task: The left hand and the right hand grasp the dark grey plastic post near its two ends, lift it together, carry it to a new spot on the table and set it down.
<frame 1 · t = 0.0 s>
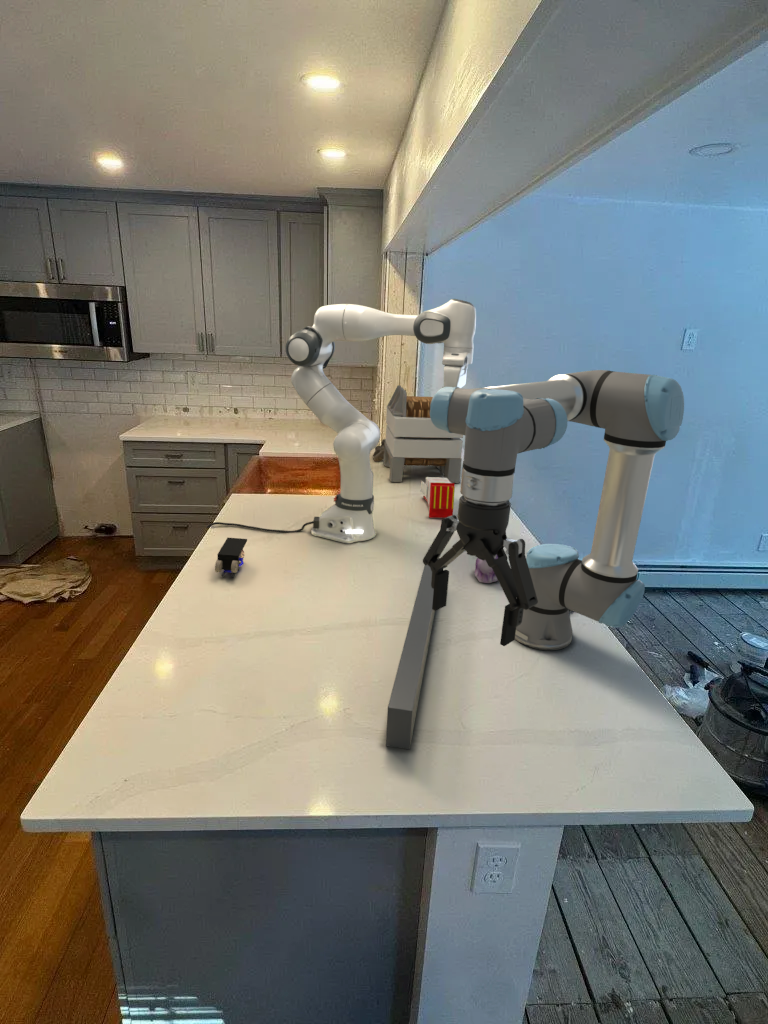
left hand: (454, 403, 174), 48 cm above the counter, tool pointing down, fingers open, 8 cm apart
right hand: (471, 624, 90), 28 cm above the counter, tool pointing down, fingers open, 13 cm apart
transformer: (419, 473, 275), on the counter
black wheeled block: (232, 569, 168), on the counter
fossil: (384, 457, 300), on the counter
post: (418, 647, 134), on the counter
red striped box: (436, 506, 229), on the counter
figurine: (487, 577, 170), on the counter
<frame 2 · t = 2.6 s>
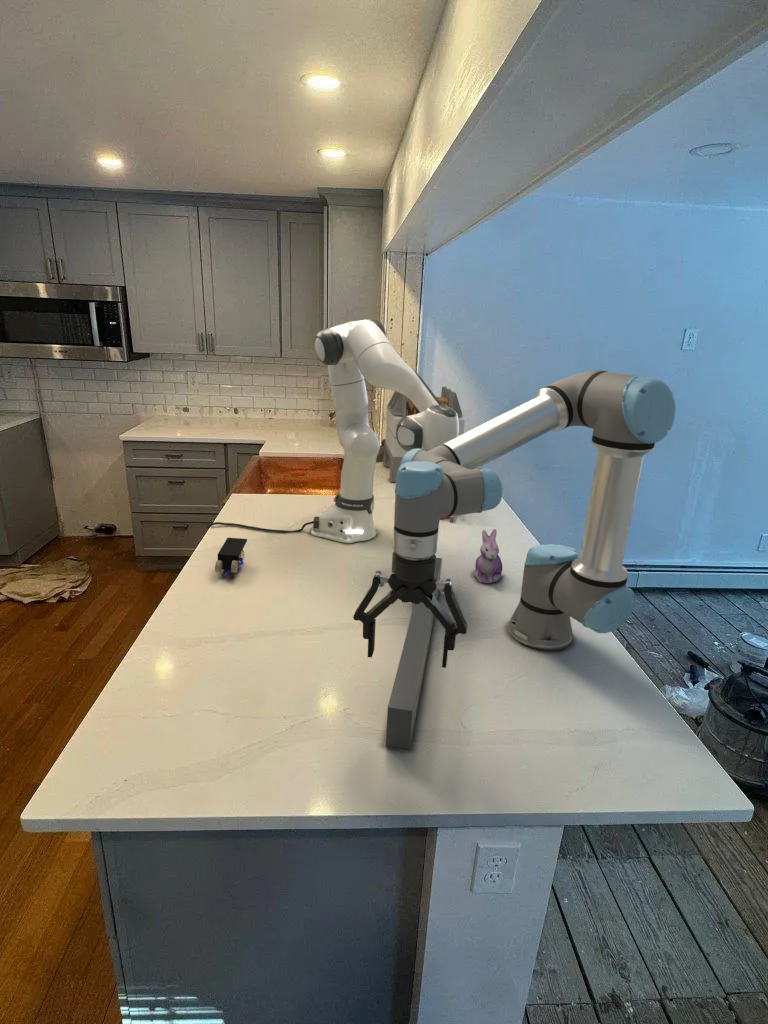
left hand: (434, 520, 151), 22 cm above the counter, tool pointing down, fingers open, 8 cm apart
right hand: (407, 658, 104), 14 cm above the counter, tool pointing down, fingers open, 13 cm apart
nothing on the counter moved.
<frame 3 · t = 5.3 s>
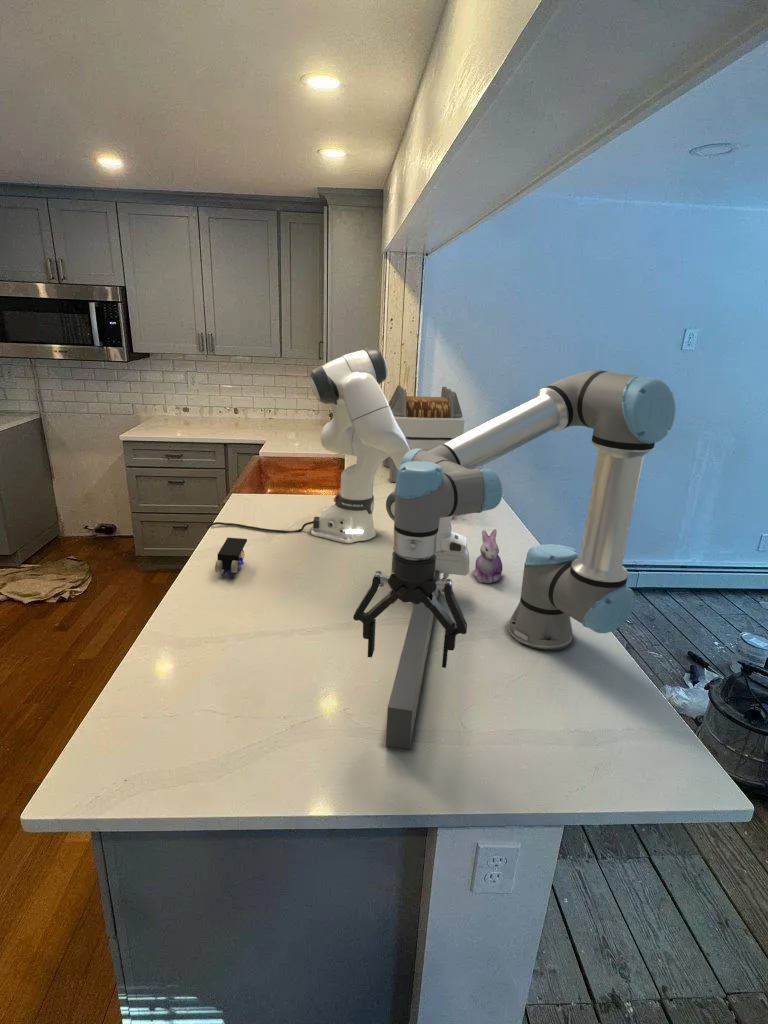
left hand: (430, 584, 157), 3 cm above the counter, tool pointing down, fingers closed on post, 4 cm apart
right hand: (407, 658, 104), 14 cm above the counter, tool pointing down, fingers open, 13 cm apart
post: (418, 646, 134), on the counter, touching left hand
everything else where it was.
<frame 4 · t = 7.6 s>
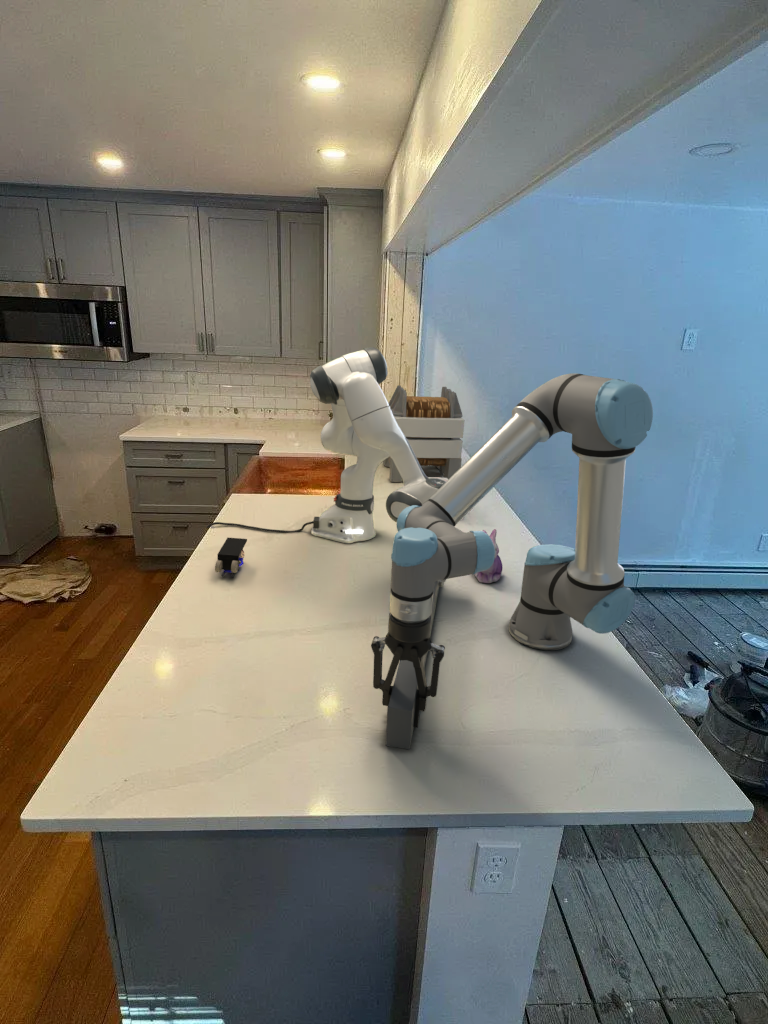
left hand: (430, 584, 157), 3 cm above the counter, tool pointing down, fingers closed on post, 4 cm apart
right hand: (403, 720, 109), 1 cm above the counter, tool pointing down, fingers closed on post, 4 cm apart
post: (418, 646, 134), on the counter, touching left hand, right hand
everything else where it was.
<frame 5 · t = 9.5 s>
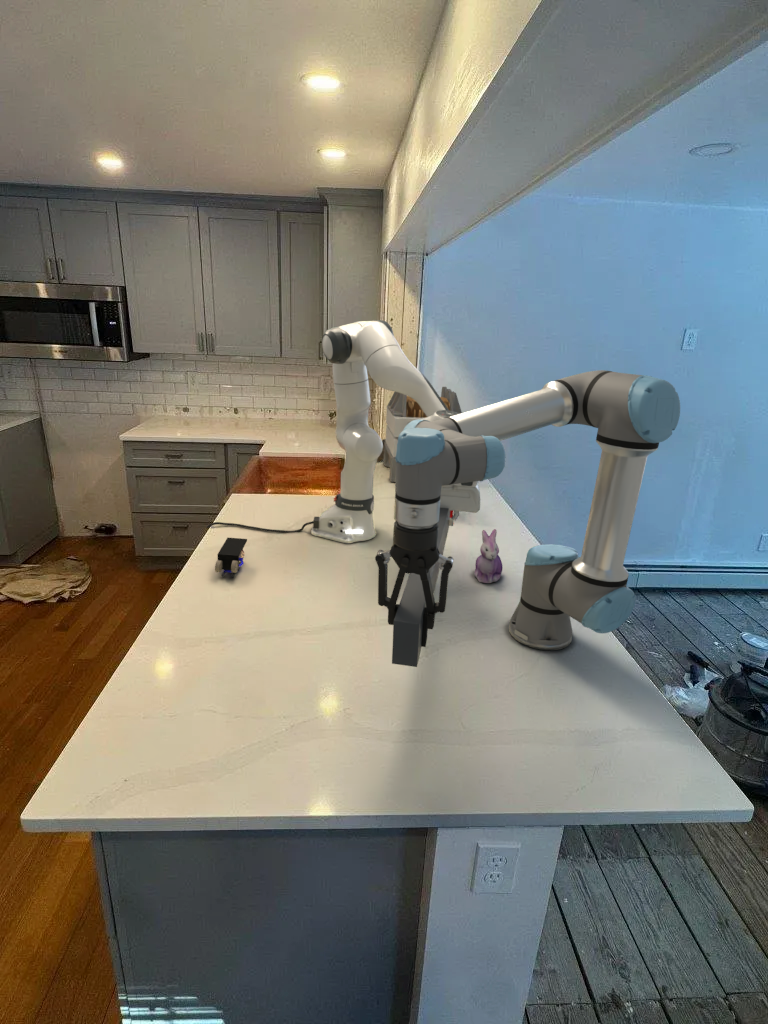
left hand: (439, 524, 152), 21 cm above the counter, tool pointing down, fingers closed on post, 4 cm apart
right hand: (410, 640, 103), 18 cm above the counter, tool pointing down, fingers closed on post, 4 cm apart
post: (427, 579, 128), point 17 cm above the counter, touching left hand, right hand
everything else where it was.
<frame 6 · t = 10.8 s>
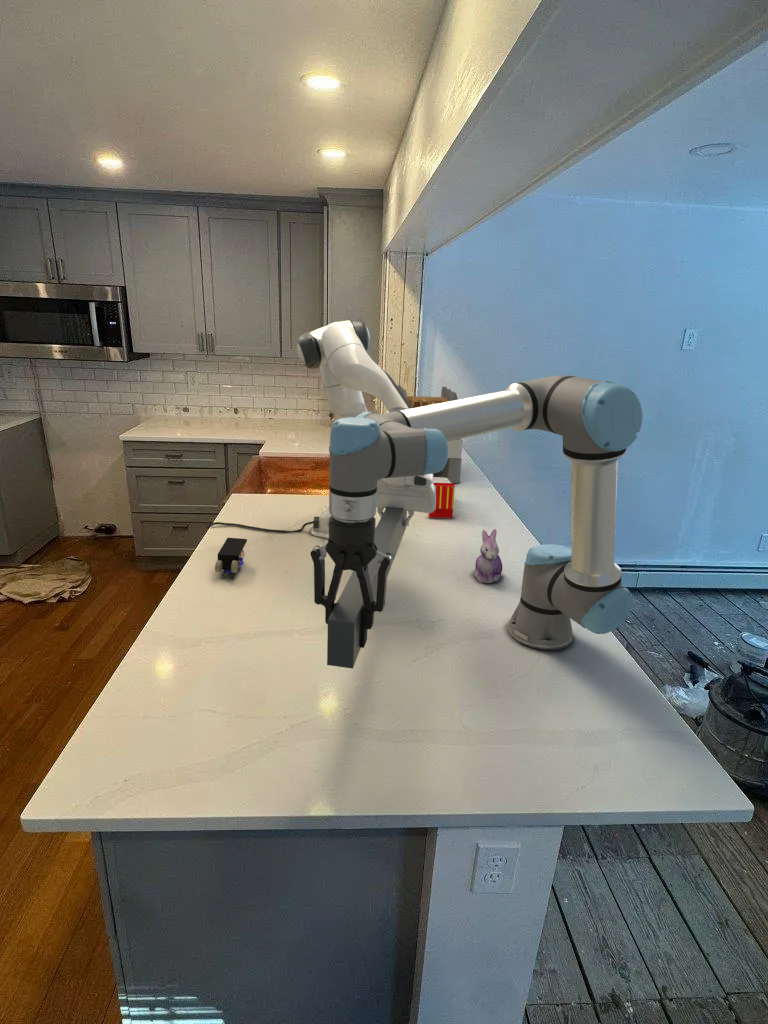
left hand: (395, 524, 148), 22 cm above the counter, tool pointing down, fingers closed on post, 4 cm apart
right hand: (348, 641, 99), 20 cm above the counter, tool pointing down, fingers closed on post, 4 cm apart
post: (376, 579, 124), point 19 cm above the counter, touching left hand, right hand
everything else where it was.
when the right hand's fingers open (2 cm above the counter, at t = 13.9 s): post drops 1 cm, on the counter.
when the left hand's fingers open (5 cm above the counter, at t = 14.0 s): post stays where it is, on the counter.
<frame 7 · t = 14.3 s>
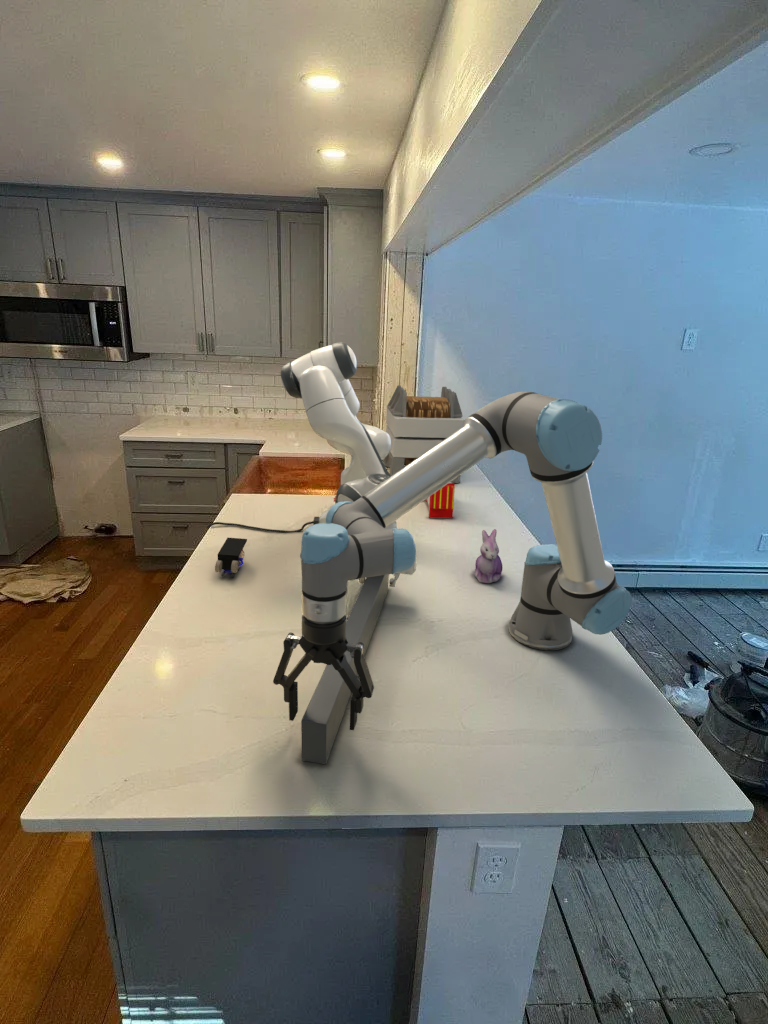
left hand: (377, 584, 152), 5 cm above the counter, tool pointing down, fingers open, 7 cm apart
right hand: (323, 720, 103), 4 cm above the counter, tool pointing down, fingers open, 10 cm apart
post: (355, 654, 129), on the counter
everything else where it was.
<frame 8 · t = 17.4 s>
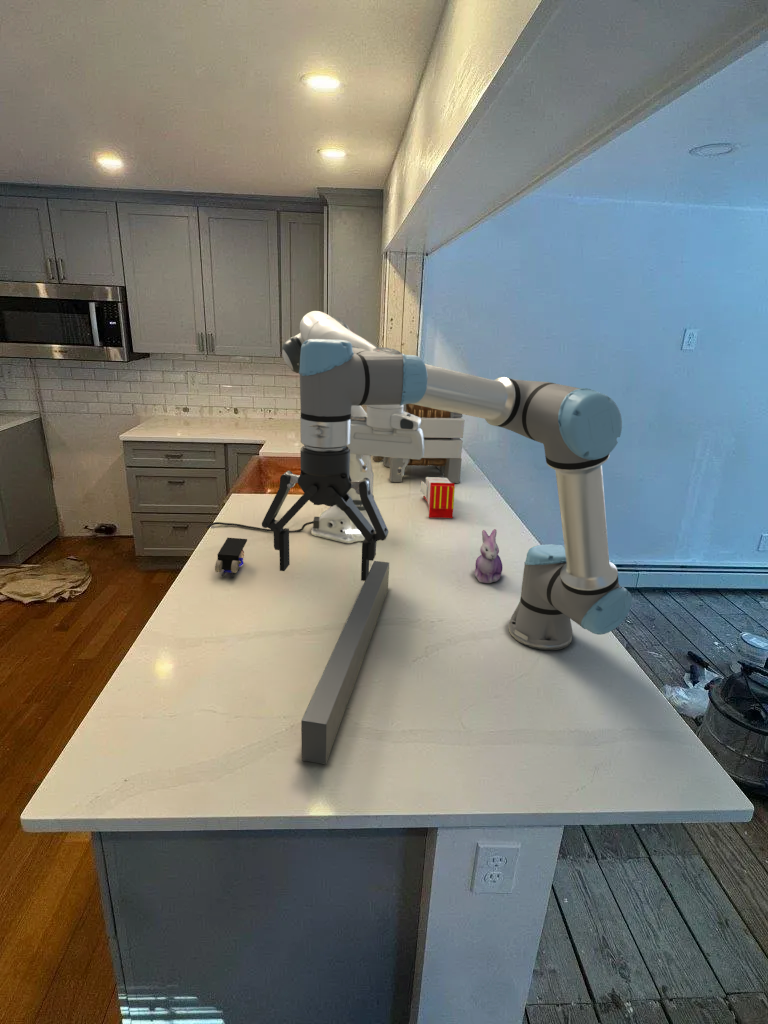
left hand: (382, 473, 142), 36 cm above the counter, tool pointing down, fingers open, 8 cm apart
right hand: (324, 572, 93), 33 cm above the counter, tool pointing down, fingers open, 13 cm apart
nothing on the counter moved.
at the end: post inside the target area (0.2 cm from its centre), on the counter; post tilted 0°; post never tilted more than 2° during the clip; both hands held the post at the same time; the left hand is holding nothing; the right hand is holding nothing; post at rest at the end (0.0 cm/s) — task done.
